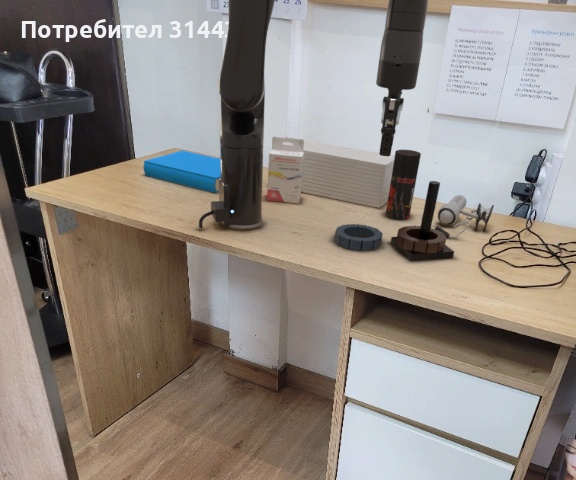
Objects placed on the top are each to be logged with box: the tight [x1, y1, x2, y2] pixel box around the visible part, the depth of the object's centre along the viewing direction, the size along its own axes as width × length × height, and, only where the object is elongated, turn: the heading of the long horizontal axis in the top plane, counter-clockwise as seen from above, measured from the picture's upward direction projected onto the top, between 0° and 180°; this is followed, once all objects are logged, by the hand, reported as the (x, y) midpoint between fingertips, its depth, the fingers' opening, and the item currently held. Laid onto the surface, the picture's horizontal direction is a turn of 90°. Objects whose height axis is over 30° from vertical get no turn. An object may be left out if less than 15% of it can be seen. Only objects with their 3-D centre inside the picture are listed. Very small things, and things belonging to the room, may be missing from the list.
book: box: [143, 149, 221, 194], centre depth 155 cm, size 17×4×25 cm
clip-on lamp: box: [432, 194, 495, 239], centre depth 131 cm, size 12×6×18 cm
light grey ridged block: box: [282, 139, 395, 209], centre depth 149 cm, size 32×11×11 cm, turn 63°
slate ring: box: [333, 223, 384, 252], centre depth 122 cm, size 10×10×2 cm
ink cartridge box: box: [266, 136, 305, 204], centre depth 140 cm, size 9×5×15 cm, turn 84°
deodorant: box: [385, 149, 422, 221], centre depth 134 cm, size 6×6×15 cm
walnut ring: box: [396, 225, 447, 253], centre depth 119 cm, size 10×10×2 cm
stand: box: [390, 180, 455, 262], centre depth 116 cm, size 10×10×14 cm
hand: (385, 150), depth 112 cm, fingers open, 8 cm apart
